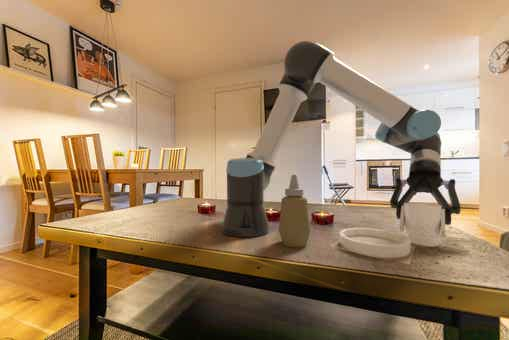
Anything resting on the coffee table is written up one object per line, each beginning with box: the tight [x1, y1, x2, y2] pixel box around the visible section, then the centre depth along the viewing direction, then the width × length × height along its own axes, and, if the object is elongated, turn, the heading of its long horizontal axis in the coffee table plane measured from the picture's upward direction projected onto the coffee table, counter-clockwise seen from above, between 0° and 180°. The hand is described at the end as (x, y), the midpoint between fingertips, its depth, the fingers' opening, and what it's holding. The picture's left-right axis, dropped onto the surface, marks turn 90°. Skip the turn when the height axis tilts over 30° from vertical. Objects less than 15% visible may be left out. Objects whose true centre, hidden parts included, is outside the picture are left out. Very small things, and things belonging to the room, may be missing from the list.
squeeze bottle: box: [278, 174, 311, 248], centre depth 57 cm, size 8×8×18 cm
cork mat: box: [329, 239, 417, 266], centre depth 54 cm, size 16×14×1 cm
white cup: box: [404, 201, 442, 247], centre depth 57 cm, size 8×8×10 cm
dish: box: [338, 227, 412, 259], centre depth 54 cm, size 15×15×3 cm
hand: (421, 231), depth 55 cm, fingers closed on white cup, 8 cm apart
